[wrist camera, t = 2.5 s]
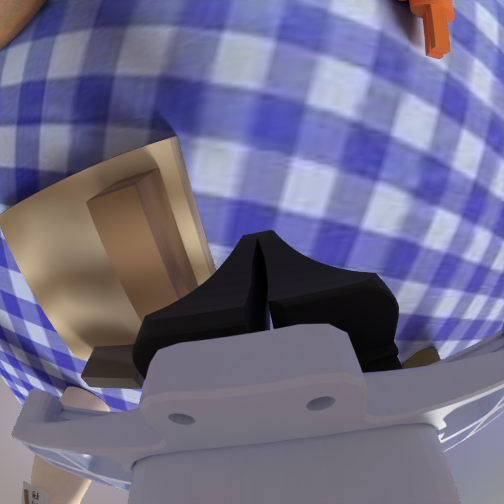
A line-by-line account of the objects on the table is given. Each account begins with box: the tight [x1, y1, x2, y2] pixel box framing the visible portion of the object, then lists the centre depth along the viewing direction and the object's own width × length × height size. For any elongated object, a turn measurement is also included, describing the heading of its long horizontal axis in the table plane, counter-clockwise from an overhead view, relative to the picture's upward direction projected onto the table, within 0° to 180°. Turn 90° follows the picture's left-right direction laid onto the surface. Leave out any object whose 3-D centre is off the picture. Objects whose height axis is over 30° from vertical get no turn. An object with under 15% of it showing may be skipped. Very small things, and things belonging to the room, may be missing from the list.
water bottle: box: [22, 386, 109, 504], centre depth 19 cm, size 10×9×28 cm
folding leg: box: [86, 168, 198, 322], centre depth 17 cm, size 14×3×4 cm, turn 12°
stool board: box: [0, 136, 216, 389], centre depth 18 cm, size 17×18×6 cm
